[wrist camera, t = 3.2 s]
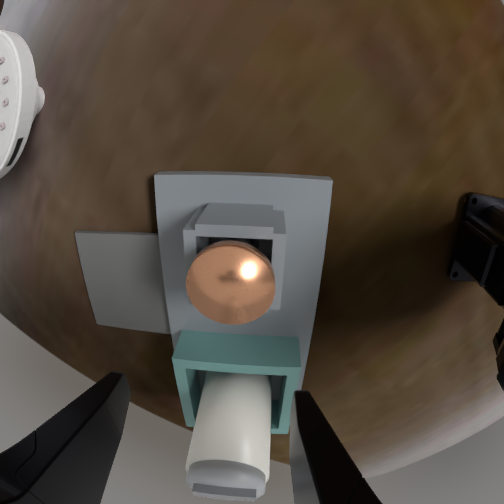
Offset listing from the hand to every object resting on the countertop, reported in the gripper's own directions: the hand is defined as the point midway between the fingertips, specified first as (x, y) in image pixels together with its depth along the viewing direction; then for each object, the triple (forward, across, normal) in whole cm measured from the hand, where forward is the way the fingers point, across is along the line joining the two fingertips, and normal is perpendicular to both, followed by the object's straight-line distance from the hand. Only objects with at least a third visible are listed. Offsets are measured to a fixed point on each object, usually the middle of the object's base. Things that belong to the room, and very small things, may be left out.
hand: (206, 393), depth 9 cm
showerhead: (+12, +15, -10) cm, 22 cm away
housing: (+12, 0, +6) cm, 13 cm away
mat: (+12, +8, +4) cm, 15 cm away
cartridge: (+11, 0, +11) cm, 16 cm away
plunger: (+11, 0, 0) cm, 11 cm away
